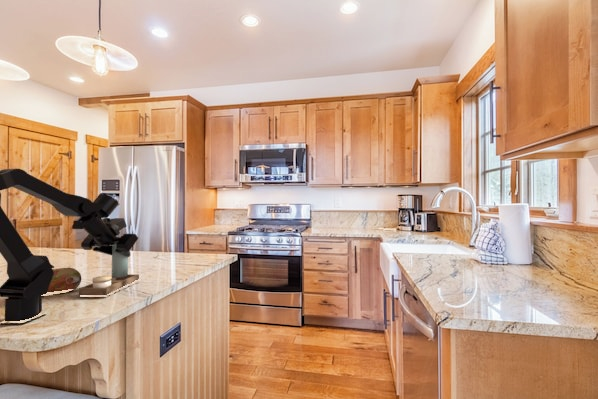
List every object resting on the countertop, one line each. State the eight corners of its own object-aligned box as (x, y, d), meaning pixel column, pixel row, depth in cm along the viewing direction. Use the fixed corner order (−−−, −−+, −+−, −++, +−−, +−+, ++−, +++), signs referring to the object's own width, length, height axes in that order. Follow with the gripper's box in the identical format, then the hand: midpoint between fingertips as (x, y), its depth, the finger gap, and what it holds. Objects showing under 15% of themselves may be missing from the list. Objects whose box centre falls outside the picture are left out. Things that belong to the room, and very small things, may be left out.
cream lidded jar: (104, 296, 90) (104, 279, 90) (88, 296, 90) (88, 279, 90) (115, 291, 95) (115, 275, 95) (100, 291, 95) (100, 275, 95)
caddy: (105, 298, 88) (105, 288, 88) (78, 297, 88) (79, 288, 88) (138, 282, 106) (138, 274, 106) (116, 282, 106) (116, 274, 106)
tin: (19, 301, 86) (19, 273, 86) (20, 298, 88) (21, 271, 88) (81, 291, 95) (81, 266, 96) (80, 289, 98) (81, 265, 98)
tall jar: (124, 277, 99) (125, 237, 100) (108, 278, 98) (109, 238, 99) (130, 273, 104) (131, 236, 105) (115, 274, 103) (115, 236, 104)
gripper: (134, 210, 96) (156, 239, 107) (89, 210, 100) (114, 238, 110) (114, 235, 88) (140, 263, 99) (66, 234, 92) (96, 261, 103)
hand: (123, 255), depth 103 cm, fingers closed on tall jar, 5 cm apart
